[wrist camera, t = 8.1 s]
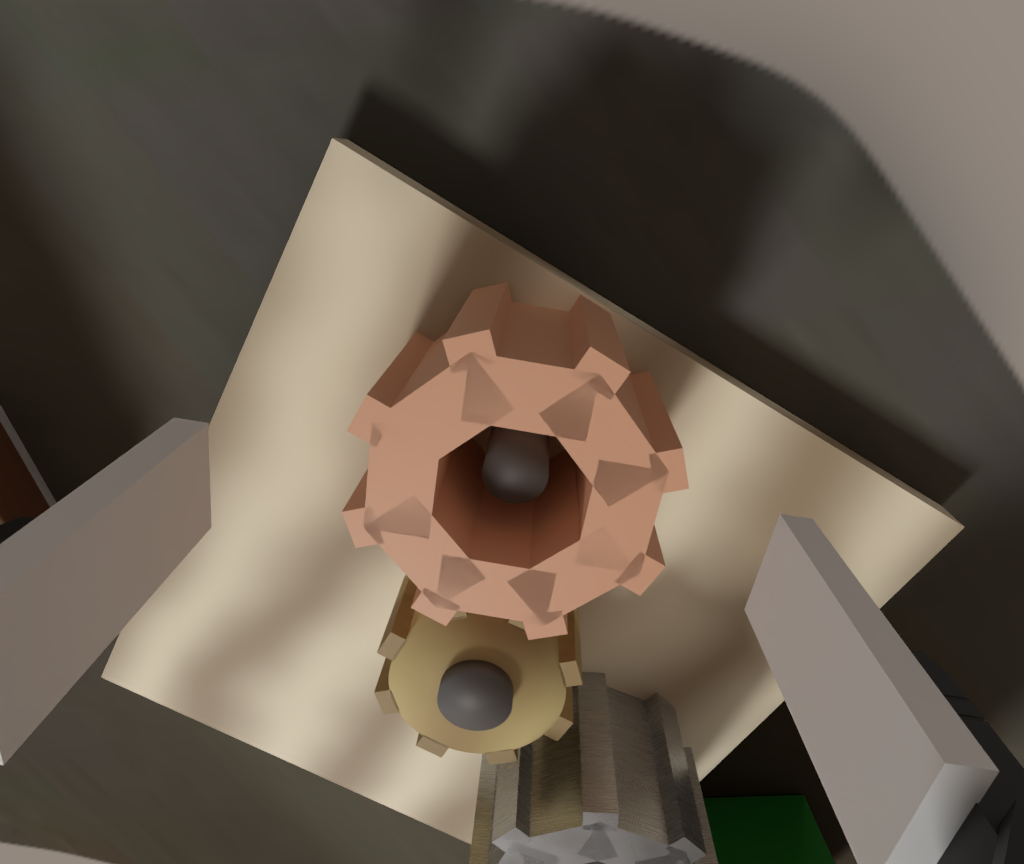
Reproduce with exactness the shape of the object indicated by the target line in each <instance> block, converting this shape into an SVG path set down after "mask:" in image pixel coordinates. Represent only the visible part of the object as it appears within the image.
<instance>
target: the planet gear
mask: <svg viewBox="0 0 1024 864" xmlns="http://www.w3.org/2000/svg"><path fill="white" fill-rule="evenodd" d="M630 373H631V371H630V368H629V365H628V362H627V359H626V356H625V354H624V351H623V348H622V345H621V342H620V339H619V337H618V334H617V331H616V328H615V325H614V322H613V320H612V317H611V314H610V313H609V312H608V311H606V310H605V309H603V308H601V307H600V306H598V305H597V304H595V303H594V302H592V301H590V300H589V299H587V298H586V297H584V296H583V295H581V294H580V296H579V297H578V299H577V300H576V302H575V303H574V305H573V306H572V308H571V309H570V311H563V310H558V309H552V308H546V307H540V306H534V305H528V304H522V303H516V302H512V298H511V294H510V290H509V286H508V282H504V283H500V284H496V285H491V286H487V287H483V288H479V289H474V290H473V291H472V292H471V294H470V296H469V297H468V299H467V301H466V302H465V304H464V305H463V307H462V309H461V310H460V312H459V314H458V315H457V317H456V318H455V320H454V322H453V323H452V325H451V327H450V328H449V330H448V331H447V333H445V334H444V335H442V336H441V337H440V338H438V339H437V340H436V341H432V340H430V339H429V338H427V337H425V336H424V335H422V334H420V333H419V332H416V333H415V334H414V335H413V337H412V338H411V339H410V340H409V342H408V343H407V344H406V345H405V347H404V348H403V349H402V351H401V352H400V353H399V354H398V356H397V357H396V358H395V359H394V361H393V362H392V363H391V364H390V366H389V367H388V368H387V370H386V371H385V372H384V373H383V375H382V376H381V377H380V378H379V380H378V381H377V382H376V383H375V385H374V386H373V387H372V388H371V390H370V391H369V392H368V394H367V395H366V397H365V399H364V400H363V402H362V404H361V406H360V408H359V409H358V411H357V413H356V415H355V417H354V418H353V420H352V422H351V424H350V426H349V427H348V429H347V431H348V432H350V433H351V434H353V435H355V436H357V437H358V438H360V439H362V440H364V441H366V442H367V443H369V444H370V449H369V462H368V469H367V470H366V472H365V474H364V475H363V477H362V479H361V480H360V482H359V484H358V485H357V487H356V489H355V490H354V492H353V494H352V495H351V497H350V499H349V500H348V502H347V504H346V505H345V507H344V509H343V510H342V514H343V517H344V519H345V522H346V525H347V527H348V530H349V532H350V535H351V538H352V540H353V543H354V545H355V548H359V547H365V546H370V545H376V544H379V545H380V546H381V548H382V549H383V550H384V551H385V552H386V553H387V554H388V555H389V556H390V557H391V559H392V560H393V561H394V562H395V563H396V564H397V565H398V566H399V567H400V568H401V570H402V571H403V572H404V573H405V574H406V575H407V576H408V577H409V578H410V580H411V581H412V582H413V583H414V584H415V585H416V586H417V590H416V593H415V596H414V599H413V602H412V605H411V608H412V609H414V610H416V611H418V612H420V613H422V614H423V615H425V616H427V617H429V618H431V619H433V620H435V621H437V622H439V623H441V624H443V625H444V626H447V624H448V623H449V622H450V620H451V619H452V617H453V616H454V615H455V613H456V612H457V611H462V612H468V613H474V614H480V615H486V616H492V617H498V618H504V619H510V620H516V621H522V622H523V624H524V627H525V631H526V634H527V638H528V640H532V639H539V638H545V637H552V636H559V635H565V634H568V624H567V613H569V612H570V611H572V610H574V609H576V608H578V607H580V606H582V605H583V604H585V603H587V602H589V601H591V600H593V599H595V598H596V597H598V596H600V595H602V594H604V593H606V592H608V591H609V590H611V589H613V588H615V587H617V586H619V585H622V586H623V587H625V588H627V589H629V590H631V591H632V592H634V593H636V594H638V595H639V596H641V594H642V593H643V592H644V591H645V590H646V589H647V588H648V586H649V585H650V584H651V583H652V582H653V581H654V579H655V578H656V577H657V576H658V575H659V574H660V573H661V571H662V570H663V569H664V568H665V567H666V566H665V562H664V558H663V554H662V551H661V547H660V543H659V540H658V536H657V532H656V529H655V525H654V523H655V519H656V516H657V512H658V509H659V505H660V502H661V498H662V495H663V493H668V492H673V491H679V490H685V489H689V484H688V478H687V472H686V465H685V459H684V452H683V447H682V445H681V443H680V440H679V438H678V436H677V433H676V431H675V429H674V427H673V424H672V422H671V420H670V418H669V415H668V413H667V411H666V408H665V406H664V404H663V402H662V399H661V397H660V395H659V392H658V390H657V388H656V386H655V383H654V381H653V379H652V376H651V374H650V372H649V371H646V372H641V373H636V374H631V375H629V374H630ZM489 426H496V427H502V428H508V429H514V430H520V431H526V432H532V433H537V434H543V435H549V436H555V437H557V438H558V440H559V441H560V442H561V444H562V445H563V446H564V448H565V450H563V451H561V452H560V453H558V454H557V455H555V456H553V457H552V458H550V459H549V477H548V482H547V485H546V487H545V489H544V490H543V492H542V493H541V494H540V495H539V496H538V497H536V498H535V499H533V500H531V501H528V502H525V503H518V504H514V503H508V502H504V501H502V500H499V499H498V498H496V497H495V496H493V495H492V494H491V493H490V492H489V491H488V489H487V488H486V486H485V484H484V482H483V478H482V467H483V463H484V459H485V452H484V451H483V450H482V449H481V447H480V446H479V445H478V444H477V442H476V441H475V440H474V439H473V437H474V436H475V435H477V434H478V433H480V432H481V431H483V430H484V429H486V428H487V427H489Z"/></svg>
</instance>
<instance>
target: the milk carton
mask: <svg viewBox="0 0 1024 864" xmlns="http://www.w3.org/2000/svg"><path fill="white" fill-rule="evenodd" d="M703 800H704V804H705V809H706V813H707V817H708V822H709V826H710V830H711V835H712V839H713V843H714V848H715V852H716V856H717V861H718V864H835V862H834V860H833V858H832V856H831V853H830V851H829V849H828V847H827V845H826V842H825V840H824V838H823V836H822V834H821V832H820V829H819V827H818V825H817V823H816V821H815V819H814V816H813V814H812V812H811V810H810V808H809V805H808V803H807V801H806V798H805V796H804V795H779V796H748V797H716V798H703Z"/></svg>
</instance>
